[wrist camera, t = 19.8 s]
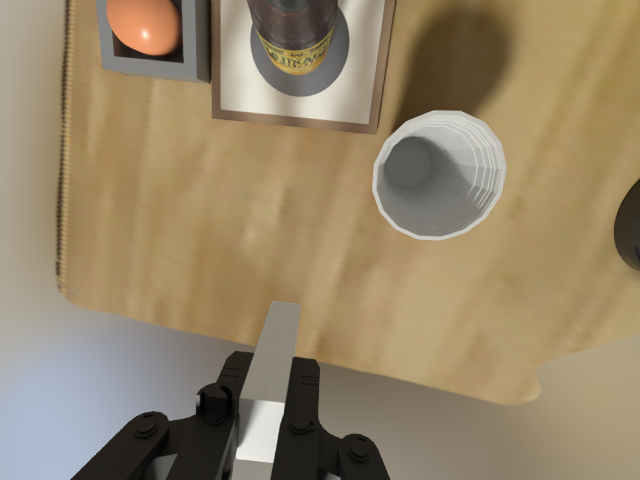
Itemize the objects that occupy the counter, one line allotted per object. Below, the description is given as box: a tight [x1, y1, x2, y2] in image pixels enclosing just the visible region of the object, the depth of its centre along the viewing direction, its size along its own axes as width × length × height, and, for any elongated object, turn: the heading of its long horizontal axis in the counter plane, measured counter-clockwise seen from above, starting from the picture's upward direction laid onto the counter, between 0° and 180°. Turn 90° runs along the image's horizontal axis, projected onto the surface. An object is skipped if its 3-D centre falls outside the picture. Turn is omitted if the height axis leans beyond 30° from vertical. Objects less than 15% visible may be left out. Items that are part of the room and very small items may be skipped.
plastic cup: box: [372, 110, 507, 240], centre depth 33 cm, size 11×11×12 cm
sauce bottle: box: [247, 0, 338, 75], centre depth 24 cm, size 6×6×20 cm
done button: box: [106, 0, 183, 59], centre depth 31 cm, size 6×6×4 cm
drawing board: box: [211, 0, 395, 135], centre depth 34 cm, size 18×16×1 cm
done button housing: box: [96, 0, 210, 84], centre depth 32 cm, size 9×9×4 cm
